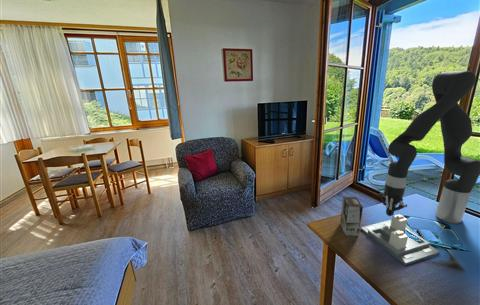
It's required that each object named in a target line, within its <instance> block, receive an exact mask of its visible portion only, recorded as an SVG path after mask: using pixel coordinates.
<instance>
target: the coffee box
mask: <svg viewBox="0 0 480 305" xmlns="http://www.w3.org/2000/svg"><path fill="white" fill-rule="evenodd" d="M363 208H364V206H363V205H362V203H361V202H360V201H359V199H358V197H356V196H342V203H341V213H340V221H339V222H340V223H339V224H340V226H341V229H342V230H343V234H344V235H345V236H354V237H356V236H357V237H359V235H360V231H361V221H362V216H363V215H362V214H363Z"/></svg>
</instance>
